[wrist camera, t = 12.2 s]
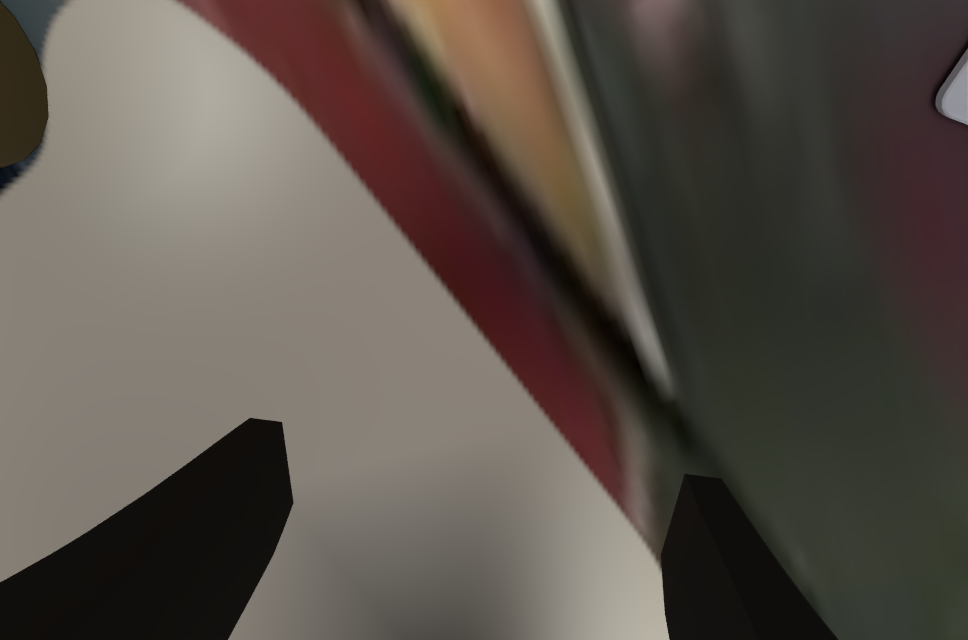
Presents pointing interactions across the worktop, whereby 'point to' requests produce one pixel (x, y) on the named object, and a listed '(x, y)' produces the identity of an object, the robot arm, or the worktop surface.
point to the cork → (19, 93)
